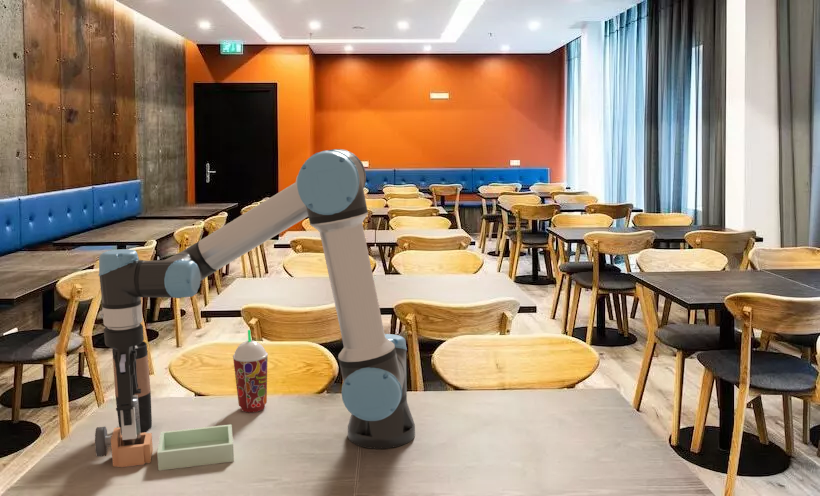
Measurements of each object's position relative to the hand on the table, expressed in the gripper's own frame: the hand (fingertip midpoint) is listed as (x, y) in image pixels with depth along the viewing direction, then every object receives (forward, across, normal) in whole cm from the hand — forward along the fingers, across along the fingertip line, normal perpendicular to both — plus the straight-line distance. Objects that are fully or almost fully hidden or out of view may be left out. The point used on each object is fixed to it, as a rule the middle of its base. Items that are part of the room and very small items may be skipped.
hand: (131, 431), depth 160 cm
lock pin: (+6, 0, 0) cm, 6 cm away
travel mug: (+6, -17, -1) cm, 18 cm away
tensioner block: (+6, 0, -2) cm, 6 cm away
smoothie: (+6, -22, +26) cm, 35 cm away
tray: (+6, +2, +13) cm, 14 cm away
